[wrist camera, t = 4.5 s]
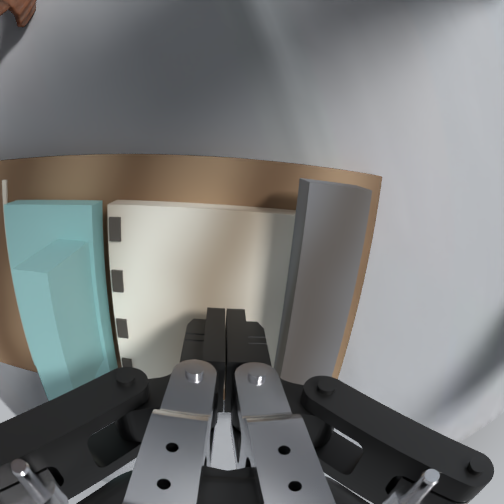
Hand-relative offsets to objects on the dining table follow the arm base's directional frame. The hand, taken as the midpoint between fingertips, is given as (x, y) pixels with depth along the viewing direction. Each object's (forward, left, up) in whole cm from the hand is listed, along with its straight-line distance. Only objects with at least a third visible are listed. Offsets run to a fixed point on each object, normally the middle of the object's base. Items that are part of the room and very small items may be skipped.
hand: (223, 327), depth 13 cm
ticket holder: (+5, 0, -3) cm, 6 cm away
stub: (+8, 0, -2) cm, 8 cm away
